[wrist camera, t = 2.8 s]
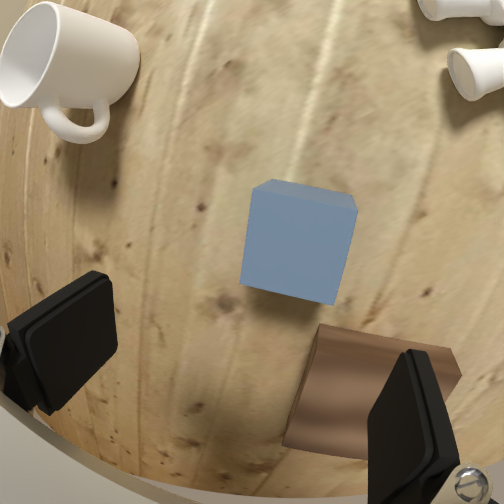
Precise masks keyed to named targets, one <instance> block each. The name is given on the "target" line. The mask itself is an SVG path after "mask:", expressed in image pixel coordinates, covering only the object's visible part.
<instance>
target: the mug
mask: <svg viewBox="0 0 504 504" xmlns="http://www.w3.org/2000/svg"><path fill="white" fill-rule="evenodd" d="M139 62H140V50H139V46H138V43H137V41H136V39H135V37H134V36H133V35H132V34H131V33H130V32H129V31H127V30H125V29H124V28H122V27H120V26H117V25H115V24H112V23H110V22H107V21H105V20H102V19H99V18H97V17H94V16H91V15H89V14H86V13H83V12H80V11H77V10H74V9H71V8H68V7H65V6H62V5H59V4H56V3H52V2H48V1H47V2H41V3H38V4H36V5H34V6H33V7H31V8H30V9H28V10H27V11H26V12H25V13H24V14H23V15H22V16H21V17H20V19H19V20H18V21H17V23H16V24H15V25H14V27H13V28H12V30H11V32H10V34H9V35H8V37H7V39H6V42H5V44H4V46H3V49H2V52H1V56H0V99H1V101H2V102H3V104H4V105H6V106H7V107H9V108H39V109H40V112H41V115H42V117H43V119H44V121H45V123H46V124H47V125H48V127H49V128H50V129H51V130H52V131H53V132H54V133H55V134H56V135H57V136H59V137H60V138H62V139H64V140H66V141H69V142H72V143H77V144H87V143H92V142H94V141H96V140H98V139H100V138H101V137H102V136H103V135H104V133H105V132H106V130H107V128H108V126H109V122H110V109H109V105H111V104H113V103H114V102H116V101H117V100H119V99H120V98H121V97H122V96H123V95H124V94H125V93H126V92H127V90H128V89H129V88H130V86H131V84H132V83H133V81H134V79H135V76H136V74H137V71H138V68H139ZM61 108H81V109H93V112H94V124H93V125H92V126H90V127H81V126H78V125H76V124H74V123H72V122H71V121H70V120H69V119H68V118H67V117H66V116H65V115H64V113H63V111H62V109H61Z"/></svg>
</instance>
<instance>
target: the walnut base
mask: <svg viewBox="0 0 504 504" xmlns="http://www.w3.org/2000/svg"><path fill="white" fill-rule="evenodd" d="M408 349H416V350H422V351H426V352H427V354H428V356H429V359H430V362H431V364H432V367H433V370H434V373H435V376H436V378H437V381H438V384H439V387H440V390H441V393H442V397H443V400H444V403H445V402H446V400H447V399H448V397H449V396H450V394H451V392H452V391H453V389H454V388H455V386H456V385H457V383H458V381H459V380H460V378H461V376H462V374H461V371H460V369H459V367H458V364H457V362H456V360H455V357H454V355H453V353H452V351H451V348H445V347H439V346H433V345H427V344H421V343H415V342H410V341H404V340H399V339H393V338H388V337H383V336H378V335H372V334H367V333H362V332H358V331H353V330H348V329H343V328H338V327H334V326H329V325H325V324H319V327H318V331H317V334H316V337H315V341H314V344H313V347H312V350H311V353H310V356H309V360H308V363H307V366H306V369H305V372H304V375H303V378H302V381H301V384H300V387H299V389H298V392H297V395H296V398H295V401H294V404H293V406H292V409H291V412H290V415H289V417H288V421H287V425H286V429H285V434H284V438H283V442H282V446H284V447H289V448H293V449H298V450H303V451H308V452H314V453H320V454H326V455H332V456H339V457H346V458H354V459H362V460H368V435H367V419H368V415H369V412H370V410H371V409H372V407H373V405H374V403H375V402H376V400H377V398H378V396H379V394H380V392H381V391H382V389H383V387H384V385H385V383H386V381H387V379H388V377H389V375H390V373H391V371H392V369H393V367H394V365H395V363H396V361H397V359H398V357H399V355H400V354H401V353H402V352H404V353H405V352H406V351H407V350H408Z"/></svg>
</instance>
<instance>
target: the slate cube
mask: <svg viewBox="0 0 504 504" xmlns="http://www.w3.org/2000/svg"><path fill="white" fill-rule="evenodd" d="M357 213H358V209H357V207H356V204H355V202H354V199H353V197H352V195H349V194H344V193H340V192H335V191H331V190H326V189H321V188H317V187H312V186H307V185H302V184H297V183H292V182H286V181H281V180H276V179H271V180H269V181H267V182H265V183H263V184H261V185H259V186H257V187H256V188H254V189H253V191H252V198H251V205H250V212H249V219H248V226H247V233H246V240H245V248H244V255H243V262H242V269H241V276H240V284H242V285H246V286H251V287H255V288H259V289H263V290H267V291H271V292H276V293H280V294H284V295H288V296H293V297H297V298H301V299H306V300H310V301H314V302H319V303H323V304H328V305H332V306H334V302H335V299H336V295H337V292H338V288H339V285H340V281H341V278H342V274H343V270H344V266H345V263H346V259H347V255H348V251H349V247H350V243H351V239H352V235H353V231H354V226H355V222H356V218H357Z"/></svg>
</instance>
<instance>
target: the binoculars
mask: <svg viewBox="0 0 504 504" xmlns="http://www.w3.org/2000/svg"><path fill="white" fill-rule="evenodd" d="M417 2H418V5H419V7H420V9H421V11H422V13H423V14H424V15H425V17H426V18H427V19H429V20H431V21H439V20H443V19H445V18H451V17H480V18H481V20H482V21H483V22H484V23H486V24H487V25H490V26H504V0H417ZM447 65H448V70H449V73H450V76H451V79H452V81H453V83H454V85H455V87H456V89H457V90H458V92H459V93H460V94H461V96H462V97H463V98H464V99H466V100H467V101H477V100H478V99H480V98H481V97H483V96H484V95H485V94H487V93H490V92H492V91H495V90H498V89H500V88H502V87H504V39H503V40H502V42H501V43H500V44H499V47H498V48H492V49H474V50H467V49H462V48H454V49H451V50H449V52H448V54H447Z"/></svg>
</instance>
